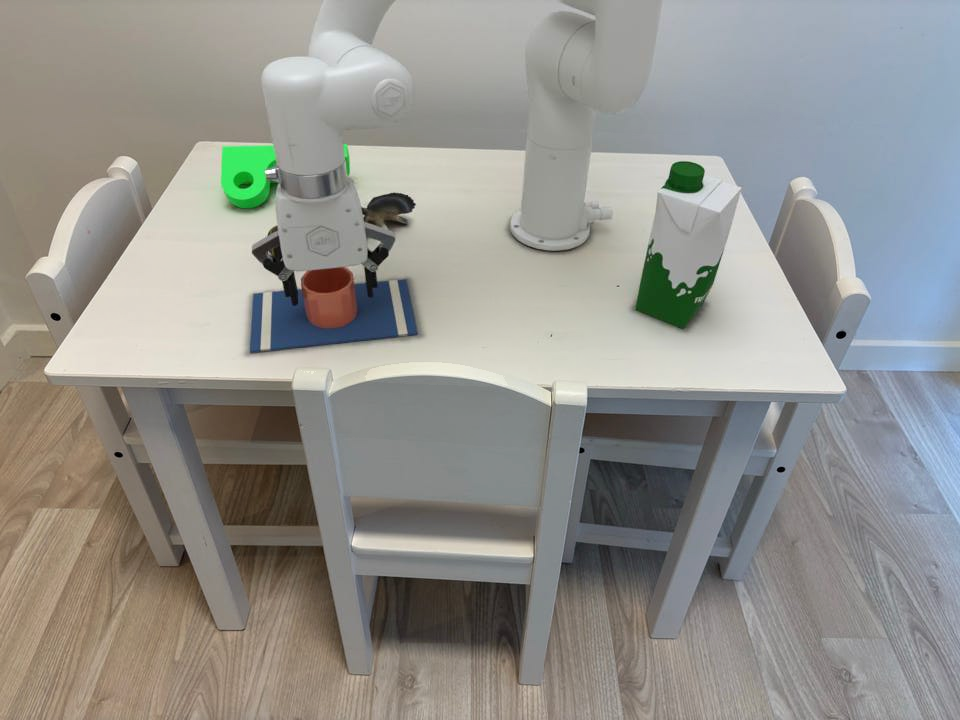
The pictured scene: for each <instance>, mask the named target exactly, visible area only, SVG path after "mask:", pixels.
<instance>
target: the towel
mask: <svg viewBox="0 0 960 720" xmlns="http://www.w3.org/2000/svg"><path fill="white" fill-rule="evenodd" d="M354 286H355V294H356V303H357V315H356V317H355V319H354V320H353V321H352V322H350V323H349V324H347V325H345V326H342V327H339V328H332V329H326V328H320V327H317V326H315V325H313V324H312V323H311V322H310V321H309V320H308V318H307V315H306V310H305V304H304V299H303V293H302V288H297V289H298V304H297V306H292V301H291V297H286V296H285V292H284V290H279V291H278V290H277V291H266V292H265V291H264V292H258V293H257V292H255V293H253V295H252V309H251V324H250V325H251V327H250V342H249V353H250V354H254V353H255V354H256V353H263V352H264V353H265V352H274V351H281V350H291V349H300V348H308V347H309V348H310V347H318V346H327V345H338V344H345V343H354V342H364V341H373V340H383V339H392V338H400V337H410V336H417V335H419V333H418V328H417V322H416V317H415V313H414V309H413V303H412V299H411V293H410V290H409V284H408V281H407V279H406V278H402V279H391V280H383V281H382V280H381V281H377V286H378V288H372V289H373V297H371V298H370V297H368V294H367V287H366V282H362V283H360V282H359V283H354Z"/></svg>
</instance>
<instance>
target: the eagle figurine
mask: <svg viewBox="0 0 960 720" xmlns="http://www.w3.org/2000/svg"><path fill="white" fill-rule="evenodd" d="M414 201H415V200H414V199H413V198H412V197H411V196H409V195H408V194H405V193H402V192H396V191H395V192H394V191H393V192H390V193H385V194H381V195H378V196H374V197H372V198H371V199H370V201H369V202H368V204H367V206H366V207H363V206H361V209H362V214H363V220H364V222H366V223H369V224H372V225H375V226H378V227H381V228H384V229H387V230H389V228H388V227H387V225H386V224H385V222H384V221H392V222H397V223H401V224H405V225H408V224H409V220H408V219H407V218H406V217H403V216H400V215H405V214H410V213H412V212H413V210H414V209H415V208H416V206H417V203H416V202H414Z"/></svg>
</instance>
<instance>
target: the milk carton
mask: <svg viewBox="0 0 960 720" xmlns="http://www.w3.org/2000/svg"><path fill="white" fill-rule="evenodd" d="M705 173H706V170H705V168H704V167H703V166H702V165H701V164H698V163H697V162H693V161H687V160H680V161H675V162H673V163H672V164H671V165H670V170H669V173H668V178H667V179H666V180H665V182H664V184H663V185H662V187H661V188H660V189H659V190H658V192H657V195H656V205H655V211H654V212H655V213H654V217H653V222H652V227H651V230H650V235H649V239H648V240H649V241H648V244H647V249H646V253H645V257H644V262H643V267H642V271H641V277H640V282H639V287H638V293H637V298H636V304H635V310H636V311H638V312H641V313H643V314H645V315H648V316H650V317H653V318H655V319H657V320H659V321H662V322H665V323H667V324H670V325H673V326H675V327H677V328H680V329H682V330H684V329H685V328H686V327H687V325H688V324H689V323H690V322H691V320H692V319H693V318H694V317H695V315H696V313H697V312H698V311H699V309H701V307H702V306H703V304H704V303H705V301H706V299H707V297H708V295H709V293H710V291H711V290H712V287H713V285H714V283H715V281H716V277H717V274H718V271H719V268H720V264H721V261H722V258H723V254H724V252H725V248H726V245H727V242H728V238H729V235H730V231H731V229H732V225H733V221H734V217H735V213H736V211H737V205H738V203H739V199H740V195H741V192H742V189H743V188H742V187H741V186H739V185H738V186H737V185H734V184H731V183H728V182H724V181H723V180H722V179H720V178H717V177H711V176H708V175H705Z"/></svg>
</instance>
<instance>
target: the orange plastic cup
mask: <svg viewBox="0 0 960 720" xmlns="http://www.w3.org/2000/svg"><path fill="white" fill-rule="evenodd" d="M354 284H355V278H354V273H353V272H352V270H350V269H349V267H340V268H330V269H320V270H310V271H304V274H303V275H302V276H301V277H300V287H301V288H300V289H302V293H303V299H304V304H305V310H306V315H307V318H308V320H309V321H310V322H311V323H312V324H313V325H315V326H317V327H320V328H326V329H332V328H339V327H342V326H345V325H347V324H349V323H350V322H352V321H353V320H354V319H355V317H356V315H357V303H356V294H355V286H354Z"/></svg>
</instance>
